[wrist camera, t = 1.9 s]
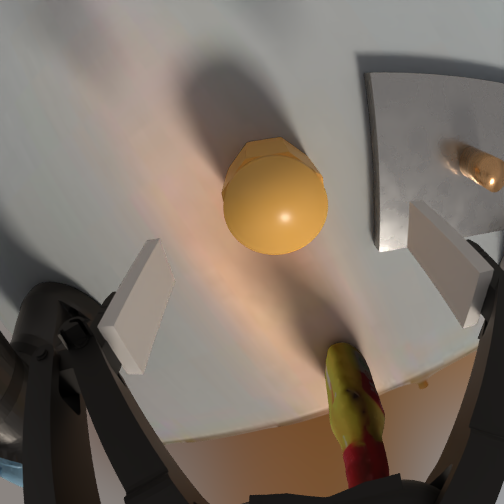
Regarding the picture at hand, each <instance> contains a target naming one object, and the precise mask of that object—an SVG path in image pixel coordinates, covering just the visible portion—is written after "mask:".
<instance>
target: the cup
mask: <svg viewBox="0 0 504 504" xmlns="http://www.w3.org/2000/svg"><path fill="white" fill-rule="evenodd" d="M500 267H501V268H502V270H503V271H504V256H503V258H502V260H501V263H500Z"/></svg>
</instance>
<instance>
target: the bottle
mask: <svg viewBox="0 0 504 504" xmlns="http://www.w3.org/2000/svg"><path fill="white" fill-rule="evenodd" d="M325 379H326V388H327V394H328V403H329V416H330V424H331V428H332V430H333V433H334V434H335V436H336V439H337V441H338V442H339V444H340V445H341V448H342V452H343V458H344V462H345V468H346V477H347V481H348V486H349V489H350V488H352V487H354V486H357V485H359V484H361V483H363V482H366V481H371V480H375V479H379V478H383V477H387V476H389V466H388V461H387V457H386V452H385V449H384V444H383V441H382V433H383V429H384V421H385V414H384V410H383V408H382V405H381V402H380V399H379V396H378V393H377V391H376V388H375V385H374V382H373V379H372V376H371V373H370V370H369V367H368V365H367V363H366V360H365V359H364V357H363V356H362V354H361V353H360V352H359V351H358V350H357V349H356V348H355V347H353V346H352V345H350V344H347V343H336V344H333V345H331V346H330V347H329V349H328V352H327V358H326V369H325Z"/></svg>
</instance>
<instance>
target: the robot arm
mask: <svg viewBox="0 0 504 504" xmlns="http://www.w3.org/2000/svg"><path fill="white" fill-rule="evenodd" d="M407 248H408V249H409V251H410V252H411V253H412V255H413V256H414V257H415V259H416V260H417V261H418V263H419V264H420V265H421V267H422V268H423V269H424V271H425V272H426V274H427V275H428V276H429V278H430V279H431V281H432V282H433V284H434V285H435V286H436V288H437V289H438V291H439V292H440V294H441V295H442V297H443V298H444V300H445V301H446V303H447V304H448V306H449V307H450V309H451V310H452V312H453V314H454V315H455V317H456V318H457V320H458V321H459V323H460V325H461V326H462V328H467V327H470V326H473V325H476V324H477V322H478V320H479V317H480V314H482V315H483V317H484V318H485V321H484V323H483V326H482V329H481V331H480V334H479V336H478V339H480V341H479V345H478V349H477V354H476V357H475V362H474V365H473V369H472V372H471V376H470V379H469V383H468V386H467V389H466V392H465V395H464V398H463V401H462V404H461V408H460V410H459V413H458V416H457V418H456V421H455V424H454V426H453V429H452V431H451V434H450V436H449V439H448V441H447V443H446V445H445V448H444V450H443V452H442V455H441V457H440V459H439V461H438V463H437V465H436V466H435V468H434V469H433V471H432V472H431V474H430V475H429V477H428V479H427V480H426V482H425V483H424V482H420V481H415V480H401V477H400V473H398V474H395V475H391V476H387V477H383V478H379V479H375V480H371V481H366V482H363V483H361V484H359V485H357V486H354V487H352V488H350V489H347V490H345V491H343V492H340V493H338V494H335V495H333V496H330V497H312V496H304V495H295V494H288V493H285V494H270V495H250V497H249V502H246V503H243V504H495V502H496V500H497V497H498V495H499V492H500V490H501V487H502V484H503V481H504V271H503V270H502V268H501V267H500V266H499V265H498V264H497V263H496V262H495V261H494V260H493V259H492V258H491V257H490V256H489V255H488V254H487V253H486V252H484V250H483V249H482V248H481V247H480V246H479V245H478V244H477V243H475V242H473V241H471V240H469V239H468V240H465V239H464V238H463V237H462V236H461V235H460V234H459V233H458V232H457V231H456V230H455V229H454V228H453V227H452V226H451V225H450V224H448V223H447V222H446V221H445V220H444V219H443V218H442V217H441V216H440V215H439V214H437V213H436V212H435V211H434V210H433V209H432V208H431V207H430V206H428V205H427V204H426V203H425V202H424V201H423V200H416V201H410V203H409V225H408V240H407ZM174 283H175V279H174V276H173V273H172V271H171V268H170V265H169V262H168V260H167V257H166V254H165V251H164V248H163V245H162V243H161V240H160V238H158V239H153V240H147V242H146V243H145V245H144V246H143V248H142V250H141V251H140V253H139V254H138V256H137V258H136V259H135V261H134V263H133V264H132V266H131V268H130V269H129V271H128V273H127V274H126V276H125V278H124V280H123V281H122V283H121V285H120V286H119V288H118V290H117V292H112V293H111V294H110V295H109V296H108V297H107V298H106V299H105V301H104V302H103V304H102V306H100V305H99V304H98V303H97V302H95V301H94V300H93V299H91V298H90V297H89V296H87V295H86V294H84V293H82V292H81V291H79V290H77V289H75V288H72V287H70V286H67V285H64V284H60V283H55V282H46V283H41V284H39V285H37V286H35V287H34V288H33V289H32V290H31V291H30V292H29V294H28V295H27V296H26V297H25V299H24V300H23V302H22V304H21V307H20V312H19V315H18V318H17V321H16V325H15V329H14V333H13V337H12V340H11V342H10V344H9V342H8V341H7V340H6V338H5V337H4V336H3V334H2V333H1V331H0V477H2V478H4V479H6V480H8V481H10V482H12V483H14V484H16V485H18V486H20V487H23V490H24V491H23V492H24V504H101V502H100V498H99V493H98V489H97V484H96V479H95V473H94V468H93V462H92V455H91V448H90V441H89V433H88V424H87V414H86V408H87V409H88V412H89V415H90V417H91V419H92V422H93V424H94V427H95V429H96V432H97V434H98V436H99V439H100V441H101V443H102V445H103V447H104V450H105V452H106V454H107V456H108V458H109V460H110V462H111V464H112V466H113V468H114V470H115V472H116V474H117V476H118V478H119V480H120V482H121V484H122V485H123V487H124V489H125V491H126V496H125V497H124V501H125V504H209V503H208V502H207V501H206V500H205V499H204V498H203V497H202V496H201V494H200V493H199V492H198V491H197V489H196V488H195V487H194V486H193V484H192V483H191V482H190V481H189V479H188V478H187V477H186V475H185V474H184V473H183V472H182V470H181V469H180V468H179V466H178V465H177V463H176V462H175V461H174V459H173V458H172V456H171V455H170V454H169V452H168V451H167V450H166V448H165V446H164V445H163V443H162V442H161V440H160V439H159V437H158V436H157V434H156V433H155V431H154V430H153V428H152V427H151V425H150V424H149V422H148V420H147V419H146V417H145V416H144V414H143V412H142V411H141V409H140V407H139V406H138V404H137V402H136V401H135V399H134V397H133V395H132V394H131V392H130V390H129V388H128V387H127V385H126V383H125V381H124V379H123V377H122V376H121V375H120V373H119V371H120V368H121V365H122V366H123V368H124V369H125V371H126V372H127V374H144V370H145V367H146V364H147V361H148V358H149V355H150V352H151V349H152V346H153V343H154V340H155V337H156V334H157V331H158V328H159V325H160V322H161V320H162V317H163V314H164V311H165V308H166V305H167V303H168V300H169V297H170V294H171V292H172V289H173V286H174Z"/></svg>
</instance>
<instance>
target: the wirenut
mask: <svg viewBox="0 0 504 504" xmlns="http://www.w3.org/2000/svg"><path fill="white" fill-rule="evenodd" d="M222 197H223V202H224V205H223V208H224V217H225V221H226V224H227V226H228V228H229V230H230V232H231V233H232V235H233V236H234V237H235V238H236V239H237V240H238V241H239V242H240V243H241V244H243V245H244V246H246V247H247V248H249V249H251V250H253V251H256V252H259V253H263V254H269V255H280V254H286V253H291V252H293V251H296V250H298V249H301V248H302V247H304V246H306V245H307V244H308V243H310V242H311V241H312V240H313V239H314V238H315V237H316V236H317V235H318V233H319V232H320V230H321V229H322V227H323V225H324V223H325V220H326V217H327V211H328V200H327V194H326V191H325V188H324V185H323V177H322V175H321V174H320V172H319V171H318V170H317V168H316V167H315V166H314V164H313V163H312V162H311V160H310V159H309V158H308V156H307V155H305V154H304V153H303V152H301V151H300V150H298V149H297V148H296V147H294V146H293V145H292V144H290V143H289V142H287V141H286V140H284V139H283V138H282V137H276V138H270V139H264V140H258V141H252V142H247V143H246V144H245V146H244V147H243V149H242V150H241V151H240V153H239V154H238V156H237V157H236V159H235V160H234V161H233V163H232V164H231V166H230V167H229V169H228V172H227V175H226V179H225V182H224V186H223V189H222Z"/></svg>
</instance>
